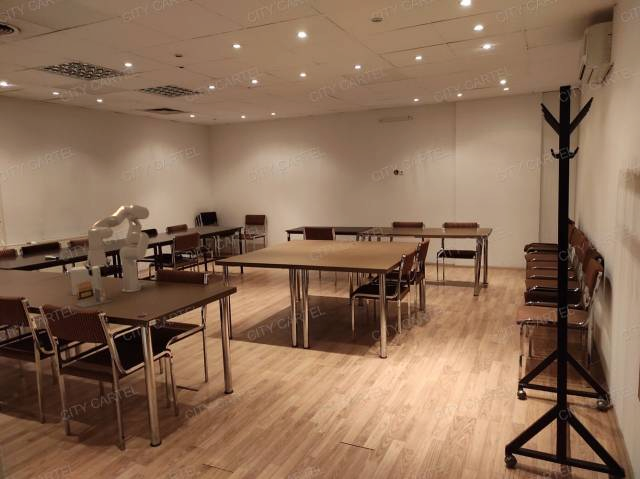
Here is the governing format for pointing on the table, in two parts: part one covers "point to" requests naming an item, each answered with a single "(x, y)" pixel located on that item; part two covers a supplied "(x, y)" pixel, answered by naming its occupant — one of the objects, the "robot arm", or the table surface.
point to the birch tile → (100, 294)
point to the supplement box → (85, 277)
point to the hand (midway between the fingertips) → (98, 274)
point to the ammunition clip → (84, 290)
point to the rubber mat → (91, 303)
